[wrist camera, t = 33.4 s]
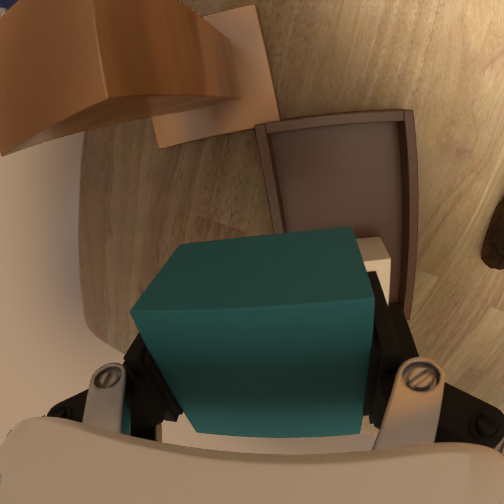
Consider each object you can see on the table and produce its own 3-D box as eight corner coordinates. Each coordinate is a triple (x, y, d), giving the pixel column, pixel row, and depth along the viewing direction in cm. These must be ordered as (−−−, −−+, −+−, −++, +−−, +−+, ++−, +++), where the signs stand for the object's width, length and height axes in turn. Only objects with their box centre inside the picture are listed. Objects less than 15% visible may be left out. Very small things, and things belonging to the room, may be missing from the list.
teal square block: (219, 361, 14) (196, 432, 10) (180, 243, 11) (128, 311, 7) (352, 355, 12) (360, 434, 9) (352, 225, 10) (375, 298, 6)
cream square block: (317, 299, 29) (317, 327, 25) (311, 242, 26) (312, 266, 22) (378, 293, 27) (387, 320, 24) (379, 235, 25) (391, 258, 21)
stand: (164, 147, 24) (-8, 235, 9) (141, 42, 20) (-43, 20, 4) (281, 123, 22) (231, 175, 6) (257, 7, 18) (167, -133, 2)
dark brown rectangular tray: (291, 316, 30) (290, 332, 28) (258, 123, 22) (253, 125, 20) (403, 304, 28) (409, 320, 26) (402, 108, 20) (413, 110, 18)
